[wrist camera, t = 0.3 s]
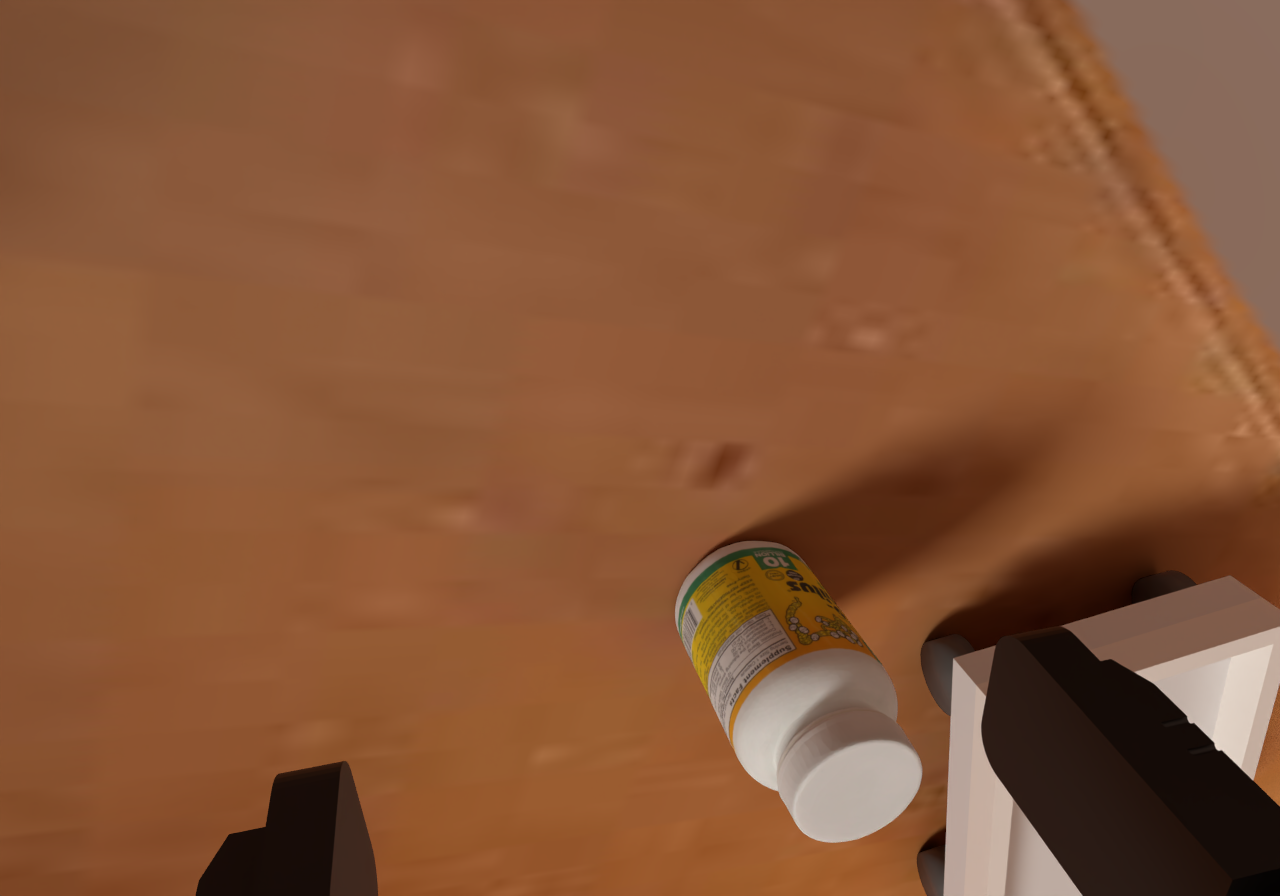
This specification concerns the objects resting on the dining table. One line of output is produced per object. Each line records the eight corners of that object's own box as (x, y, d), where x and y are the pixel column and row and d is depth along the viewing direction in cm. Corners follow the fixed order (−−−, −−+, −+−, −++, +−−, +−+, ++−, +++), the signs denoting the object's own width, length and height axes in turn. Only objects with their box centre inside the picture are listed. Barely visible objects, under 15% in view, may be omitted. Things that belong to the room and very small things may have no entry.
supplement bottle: (643, 603, 33) (732, 811, 25) (755, 507, 33) (885, 687, 24) (728, 676, 36) (834, 886, 28) (833, 588, 35) (975, 776, 27)
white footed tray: (912, 610, 37) (1000, 713, 32) (1172, 535, 39) (1296, 621, 33) (908, 894, 45) (977, 1013, 40) (1121, 822, 47) (1213, 926, 42)
